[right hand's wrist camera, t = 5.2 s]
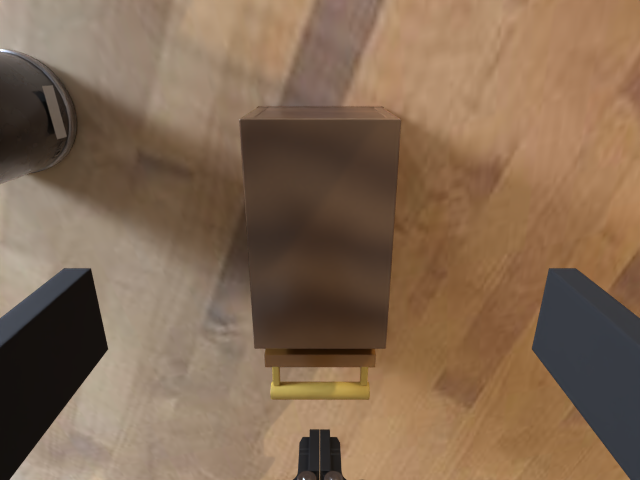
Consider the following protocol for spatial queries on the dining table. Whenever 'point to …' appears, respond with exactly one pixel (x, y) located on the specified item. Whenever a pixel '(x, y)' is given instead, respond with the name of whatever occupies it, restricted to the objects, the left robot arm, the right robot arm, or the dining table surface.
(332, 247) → the cabinet
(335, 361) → the drawer
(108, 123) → the dining table surface
